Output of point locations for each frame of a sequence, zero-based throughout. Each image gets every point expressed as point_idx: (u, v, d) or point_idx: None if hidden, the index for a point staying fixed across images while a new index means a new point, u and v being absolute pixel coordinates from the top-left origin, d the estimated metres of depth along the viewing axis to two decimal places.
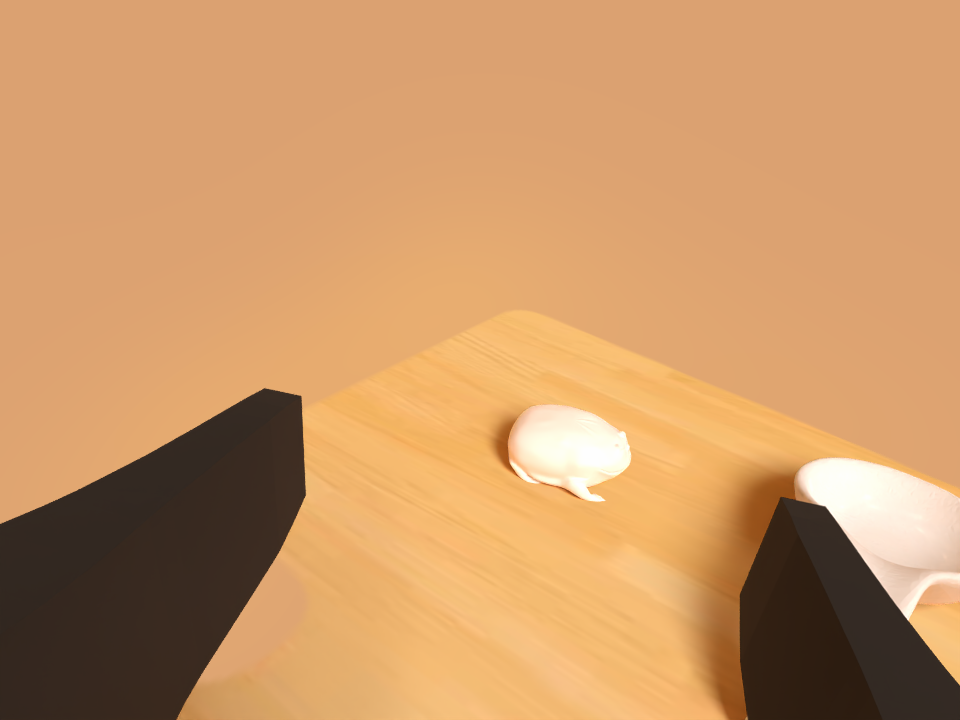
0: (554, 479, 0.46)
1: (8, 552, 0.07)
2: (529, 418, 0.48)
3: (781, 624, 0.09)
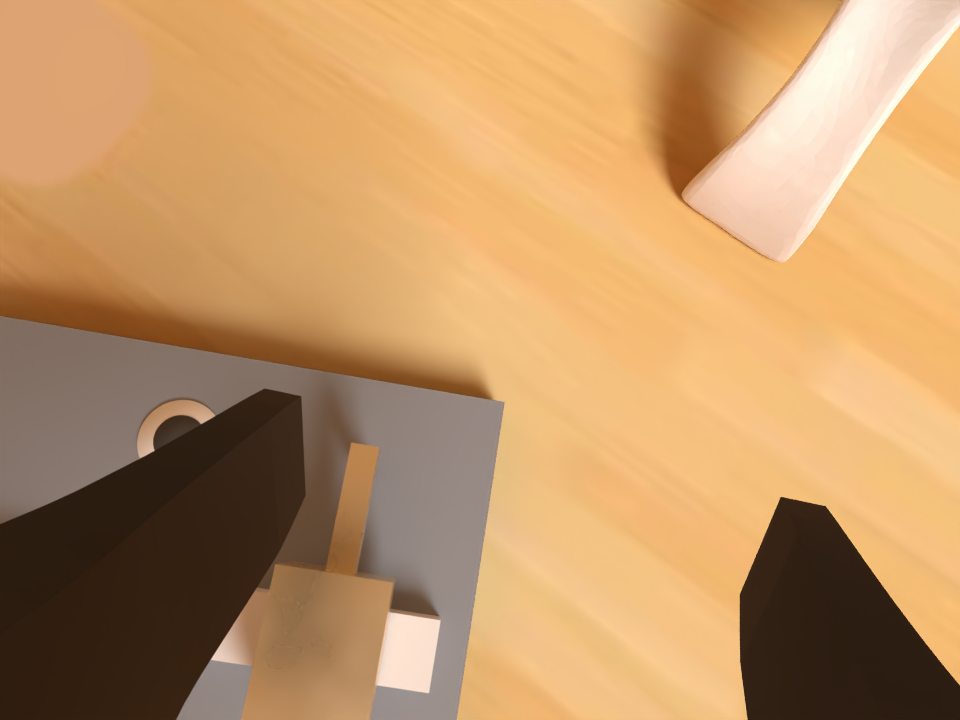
0: None
1: (8, 551, 0.07)
2: None
3: (781, 624, 0.09)
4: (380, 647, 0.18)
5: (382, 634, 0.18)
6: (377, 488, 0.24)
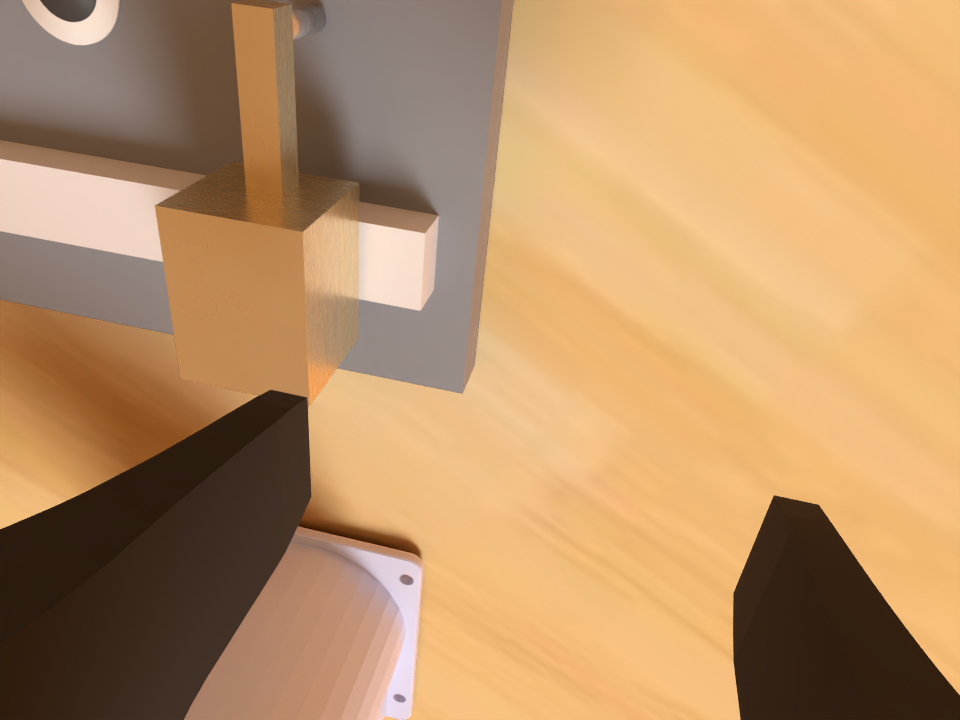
0: None
1: (18, 554, 0.07)
2: None
3: (773, 622, 0.09)
4: (305, 305, 0.15)
5: (304, 291, 0.14)
6: (334, 43, 0.16)
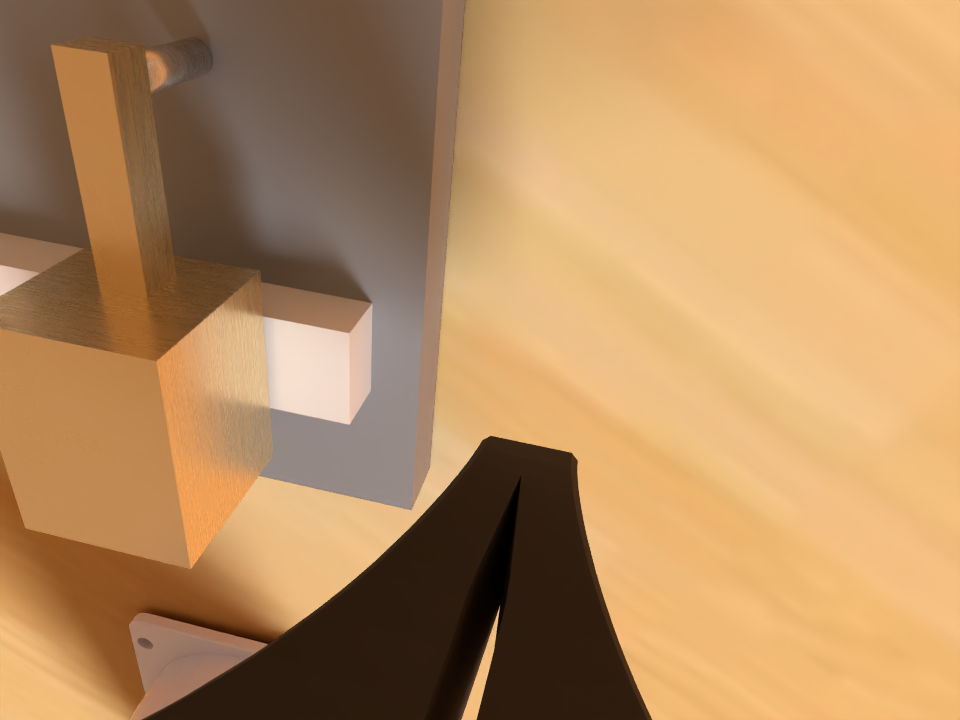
0: None
1: (356, 638, 0.07)
2: None
3: (508, 561, 0.10)
4: (171, 450, 0.11)
5: (168, 433, 0.11)
6: (227, 88, 0.12)
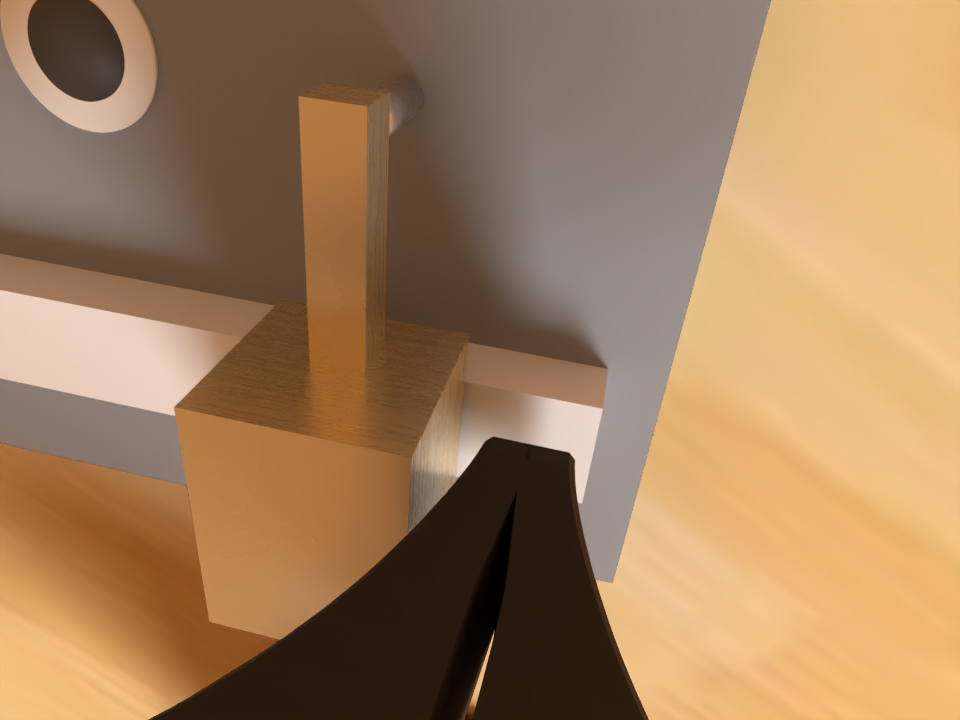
0: None
1: (359, 640, 0.07)
2: None
3: (506, 560, 0.10)
4: None
5: (405, 532, 0.09)
6: (475, 136, 0.11)
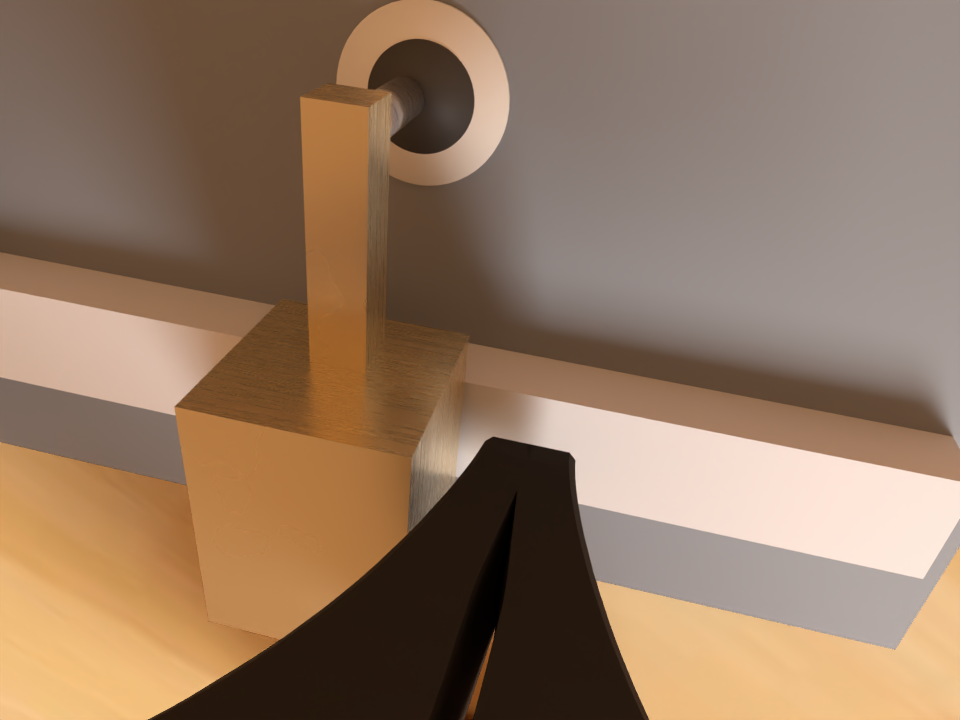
0: None
1: (359, 640, 0.07)
2: None
3: (506, 560, 0.10)
4: None
5: (405, 532, 0.09)
6: (865, 197, 0.10)
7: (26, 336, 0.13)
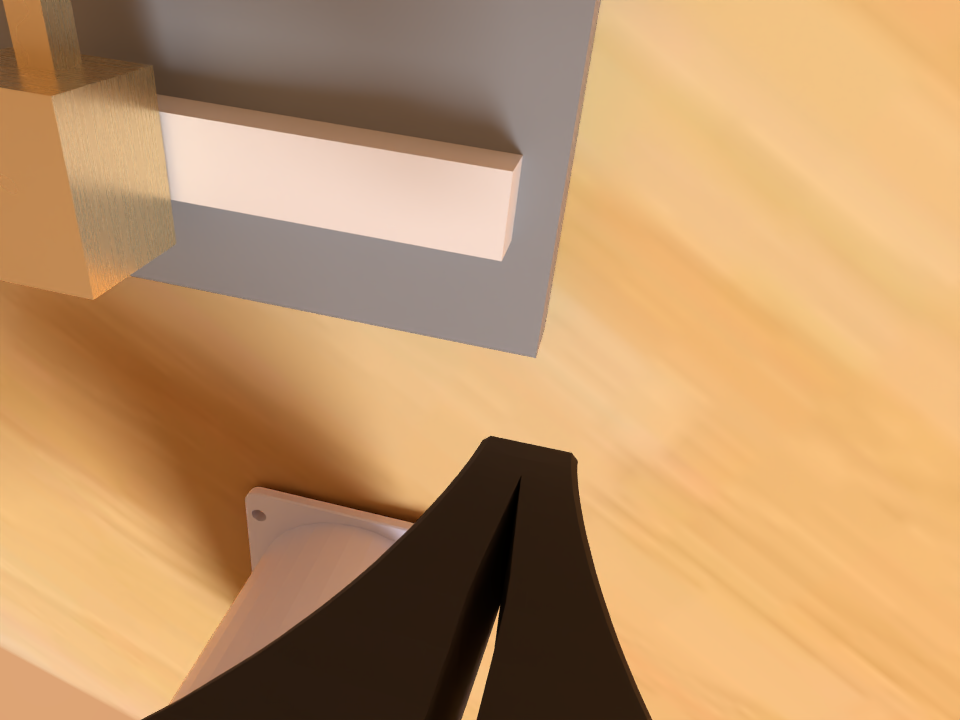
0: None
1: (354, 640, 0.07)
2: None
3: (508, 561, 0.10)
4: (69, 182, 0.14)
5: (65, 166, 0.13)
6: None
7: None
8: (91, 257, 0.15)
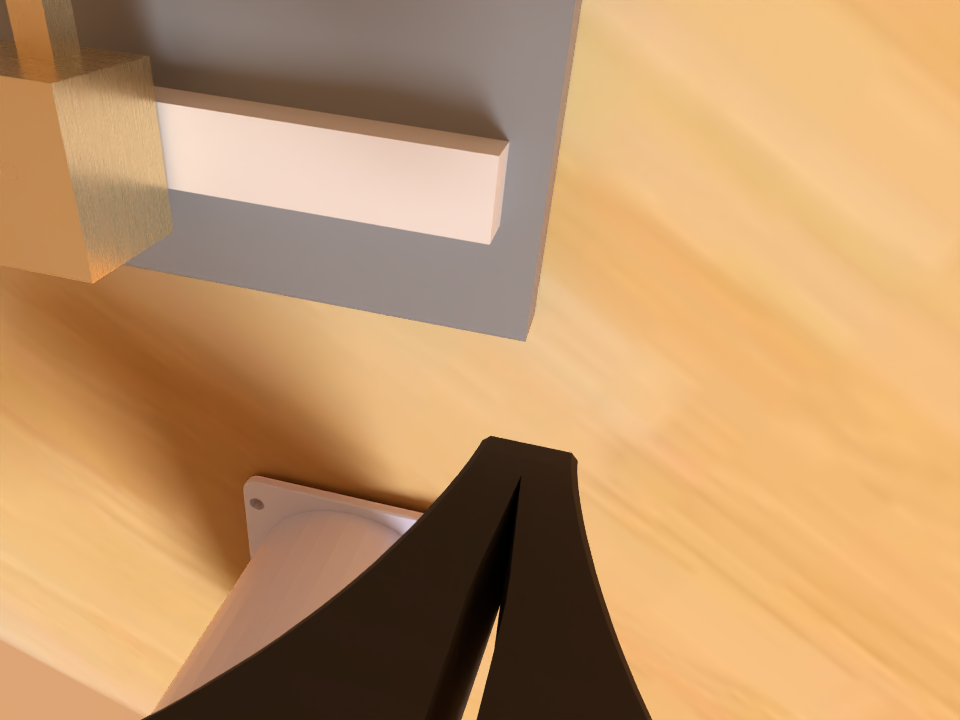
0: None
1: (356, 639, 0.07)
2: None
3: (508, 561, 0.10)
4: (68, 168, 0.14)
5: (65, 152, 0.14)
6: None
7: None
8: (90, 241, 0.15)
